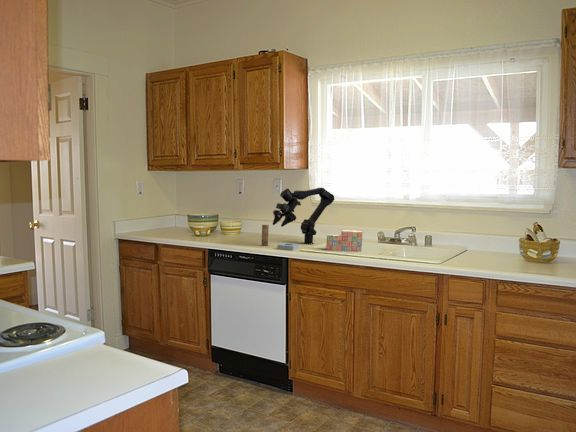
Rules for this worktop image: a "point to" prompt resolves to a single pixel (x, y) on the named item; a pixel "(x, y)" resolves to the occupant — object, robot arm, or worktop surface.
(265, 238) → the dowel
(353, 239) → the stack of blocks
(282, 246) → the bead block
